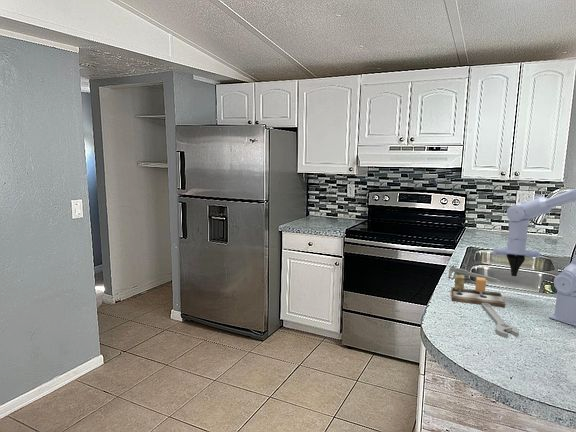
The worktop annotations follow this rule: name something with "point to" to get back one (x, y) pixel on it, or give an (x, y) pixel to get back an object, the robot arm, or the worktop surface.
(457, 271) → the caliper
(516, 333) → the adjustable wrench
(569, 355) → the worktop surface
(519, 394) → the worktop surface
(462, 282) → the board
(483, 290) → the block
